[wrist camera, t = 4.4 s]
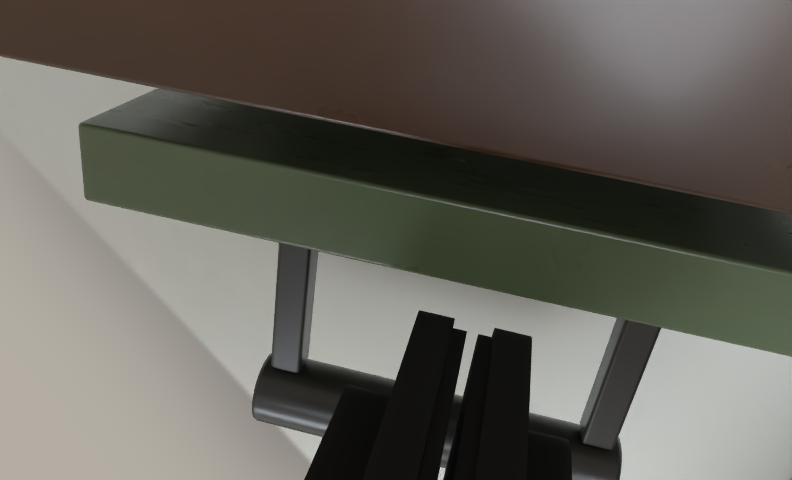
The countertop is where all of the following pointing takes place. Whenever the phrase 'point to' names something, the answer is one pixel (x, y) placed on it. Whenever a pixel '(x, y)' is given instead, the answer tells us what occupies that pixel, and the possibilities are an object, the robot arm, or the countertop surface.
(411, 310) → the countertop surface
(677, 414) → the countertop surface
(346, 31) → the cabinet
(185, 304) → the countertop surface
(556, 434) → the bin drawer
